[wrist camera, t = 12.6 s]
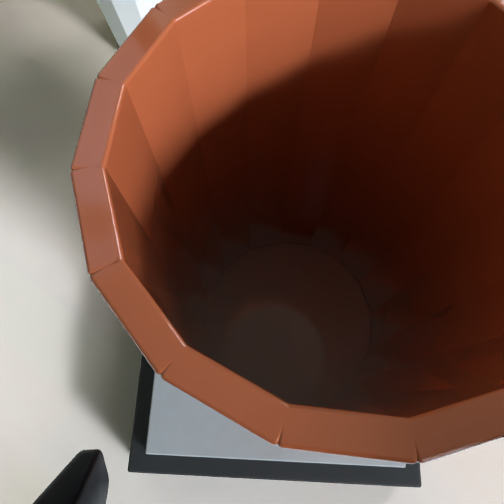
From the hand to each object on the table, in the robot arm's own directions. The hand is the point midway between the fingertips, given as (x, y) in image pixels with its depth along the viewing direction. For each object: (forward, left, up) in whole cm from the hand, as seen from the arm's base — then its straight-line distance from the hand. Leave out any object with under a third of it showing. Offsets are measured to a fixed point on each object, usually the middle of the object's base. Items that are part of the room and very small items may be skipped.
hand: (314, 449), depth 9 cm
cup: (+4, 0, -8) cm, 9 cm away
